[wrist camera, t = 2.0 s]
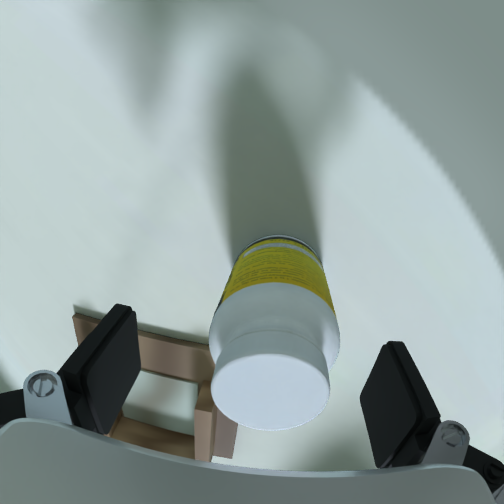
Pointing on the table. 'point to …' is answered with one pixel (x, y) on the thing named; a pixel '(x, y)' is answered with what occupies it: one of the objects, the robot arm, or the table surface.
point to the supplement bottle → (274, 336)
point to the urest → (171, 399)
